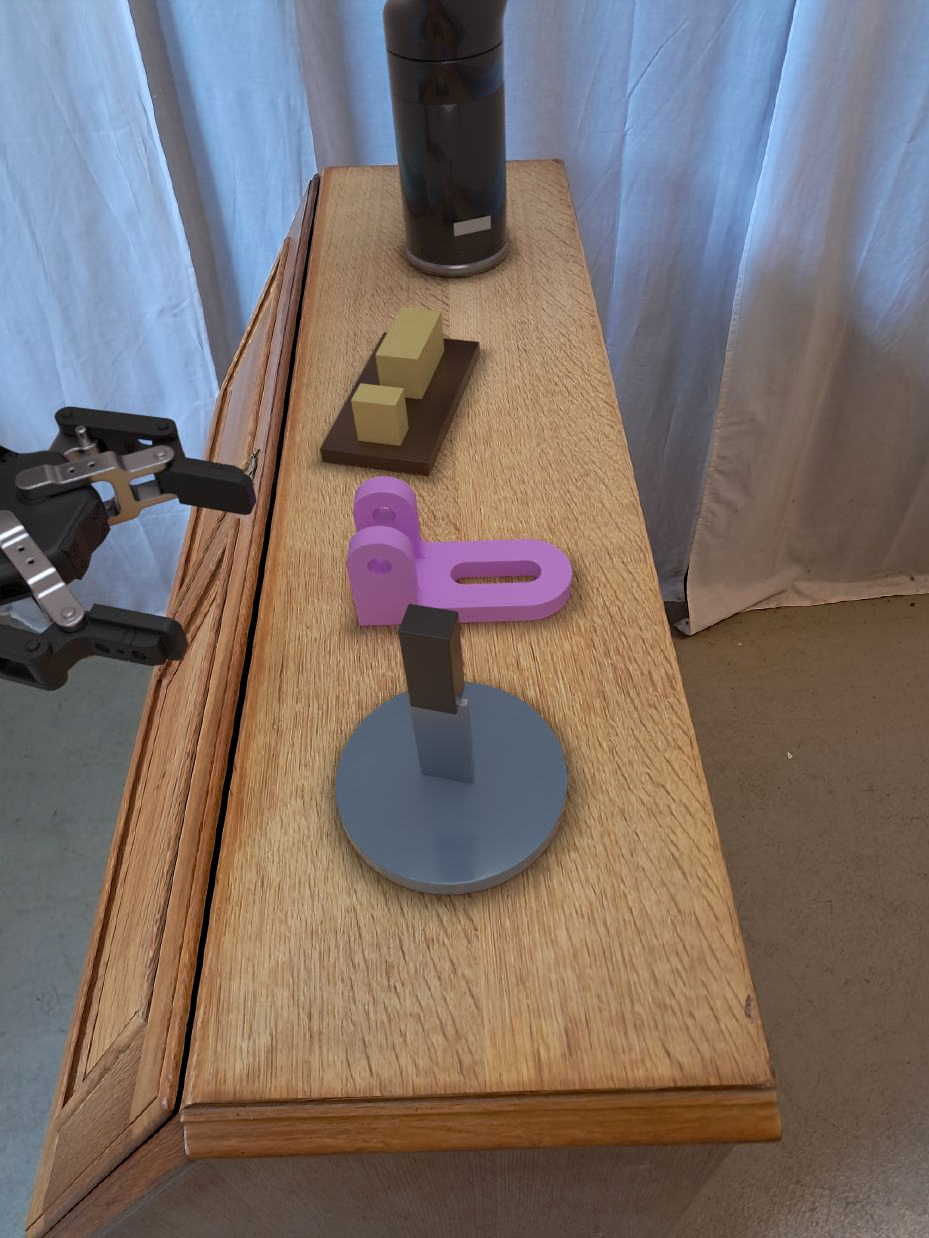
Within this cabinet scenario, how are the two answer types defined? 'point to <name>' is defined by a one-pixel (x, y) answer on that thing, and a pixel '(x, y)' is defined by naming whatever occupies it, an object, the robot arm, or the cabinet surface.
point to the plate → (453, 796)
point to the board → (423, 416)
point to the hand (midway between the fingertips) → (219, 563)
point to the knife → (437, 692)
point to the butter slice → (380, 414)
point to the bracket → (443, 566)
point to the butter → (411, 351)
